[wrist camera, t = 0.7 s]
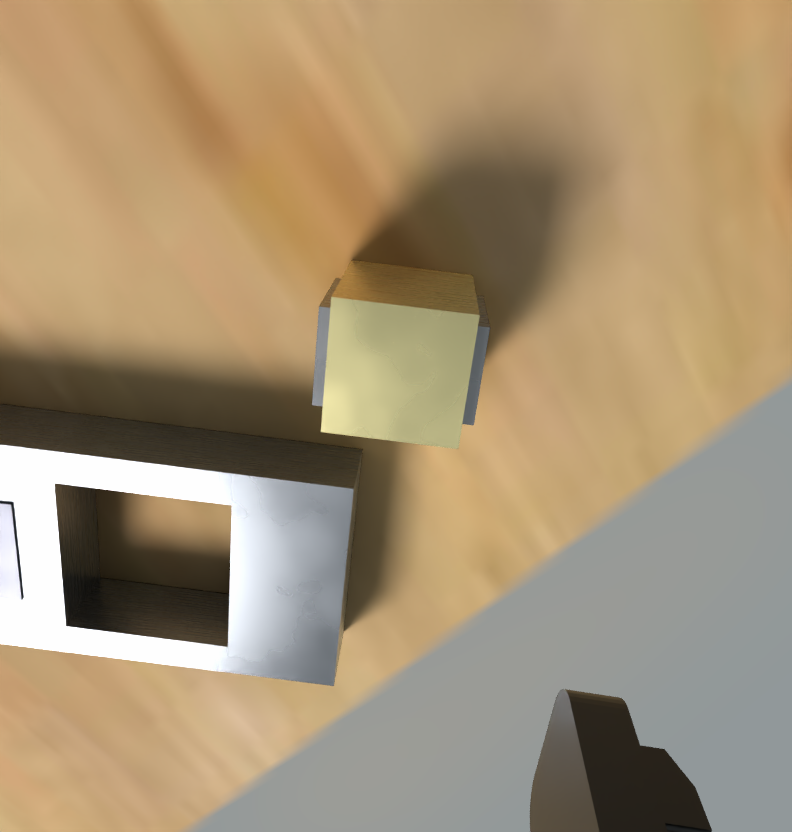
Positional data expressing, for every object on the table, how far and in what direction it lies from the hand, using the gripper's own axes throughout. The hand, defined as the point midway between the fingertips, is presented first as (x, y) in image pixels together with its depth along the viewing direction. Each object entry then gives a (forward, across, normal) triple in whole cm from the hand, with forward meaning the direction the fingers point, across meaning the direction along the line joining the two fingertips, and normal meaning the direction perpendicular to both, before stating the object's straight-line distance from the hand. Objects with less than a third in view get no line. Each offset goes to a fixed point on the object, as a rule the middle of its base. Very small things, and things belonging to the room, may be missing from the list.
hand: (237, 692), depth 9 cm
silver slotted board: (+17, +10, +9) cm, 22 cm away
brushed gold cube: (+17, -1, -1) cm, 17 cm away
